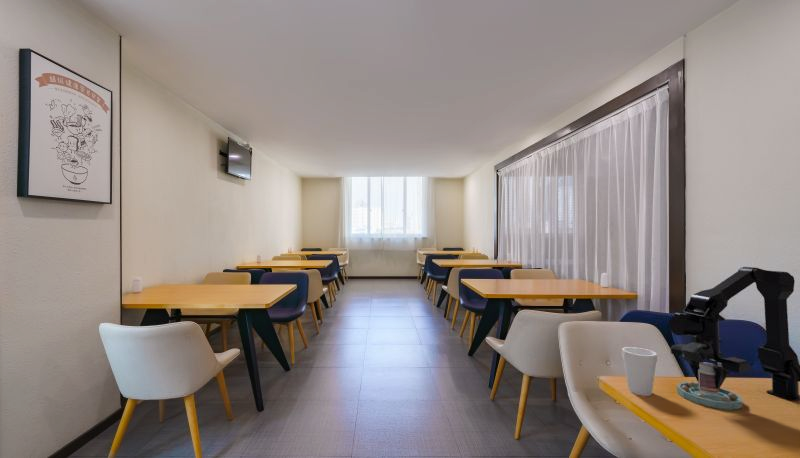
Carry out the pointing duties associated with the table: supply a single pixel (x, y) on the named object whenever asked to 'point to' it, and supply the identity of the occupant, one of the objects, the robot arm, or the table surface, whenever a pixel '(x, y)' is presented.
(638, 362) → the foam cup
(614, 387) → the table surface
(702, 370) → the pill bottle
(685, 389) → the tray
